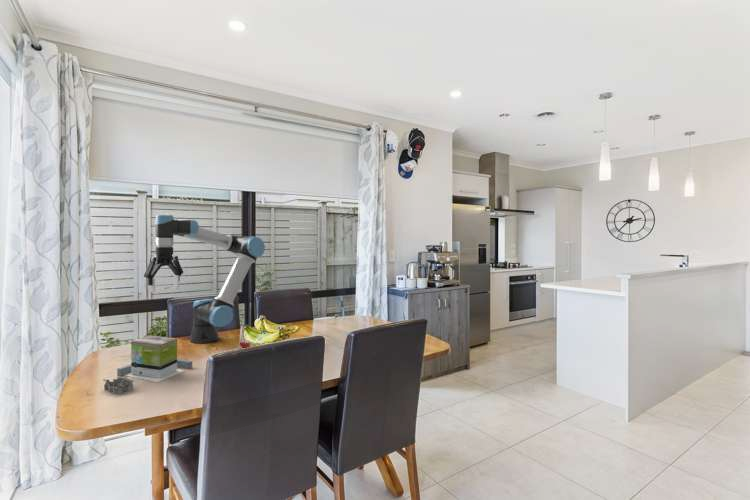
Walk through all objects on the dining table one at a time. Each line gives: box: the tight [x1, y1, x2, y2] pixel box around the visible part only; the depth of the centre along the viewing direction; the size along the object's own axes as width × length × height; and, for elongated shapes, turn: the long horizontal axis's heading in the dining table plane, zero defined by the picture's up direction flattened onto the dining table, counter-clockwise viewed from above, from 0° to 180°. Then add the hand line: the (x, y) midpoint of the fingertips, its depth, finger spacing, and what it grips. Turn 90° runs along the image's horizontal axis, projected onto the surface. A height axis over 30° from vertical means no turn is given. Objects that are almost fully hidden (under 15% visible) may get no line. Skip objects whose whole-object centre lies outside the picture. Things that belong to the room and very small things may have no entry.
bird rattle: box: [237, 341, 251, 349], centre depth 177 cm, size 6×11×9 cm
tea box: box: [130, 334, 178, 378], centre depth 163 cm, size 15×10×15 cm, turn 77°
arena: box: [116, 358, 193, 383], centre depth 166 cm, size 20×22×3 cm
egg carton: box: [102, 375, 134, 395], centre depth 147 cm, size 11×8×4 cm
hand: (164, 290), depth 184 cm, fingers open, 13 cm apart
